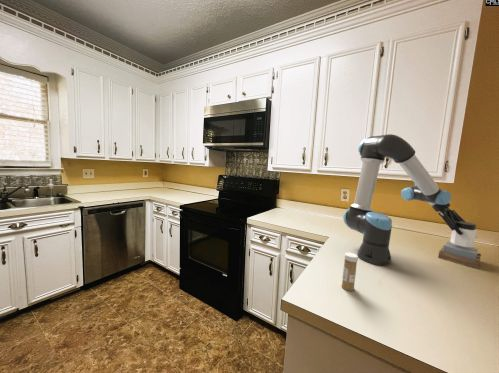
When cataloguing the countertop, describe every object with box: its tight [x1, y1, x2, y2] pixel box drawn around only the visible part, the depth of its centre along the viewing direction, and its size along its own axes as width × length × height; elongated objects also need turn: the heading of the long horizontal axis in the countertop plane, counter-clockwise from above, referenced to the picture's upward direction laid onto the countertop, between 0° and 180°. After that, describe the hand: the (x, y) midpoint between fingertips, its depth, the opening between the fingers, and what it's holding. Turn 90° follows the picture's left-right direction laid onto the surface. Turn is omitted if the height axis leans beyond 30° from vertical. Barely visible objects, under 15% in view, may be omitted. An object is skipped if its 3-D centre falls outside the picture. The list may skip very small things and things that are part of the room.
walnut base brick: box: [437, 244, 482, 270], centre depth 115 cm, size 15×15×4 cm
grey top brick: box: [443, 241, 479, 260], centre depth 114 cm, size 12×12×4 cm
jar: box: [449, 221, 477, 248], centre depth 113 cm, size 9×8×12 cm
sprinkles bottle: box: [341, 252, 359, 292], centre depth 81 cm, size 5×5×13 cm
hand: (471, 239), depth 111 cm, fingers closed on jar, 8 cm apart
